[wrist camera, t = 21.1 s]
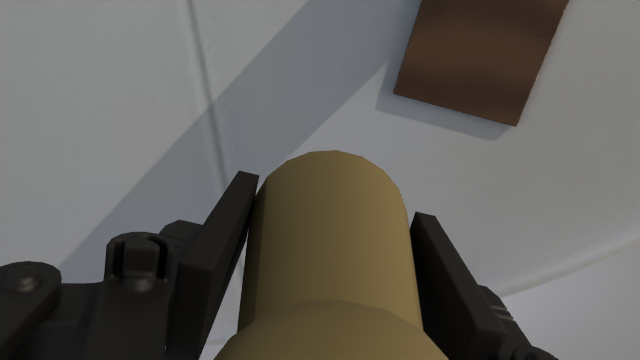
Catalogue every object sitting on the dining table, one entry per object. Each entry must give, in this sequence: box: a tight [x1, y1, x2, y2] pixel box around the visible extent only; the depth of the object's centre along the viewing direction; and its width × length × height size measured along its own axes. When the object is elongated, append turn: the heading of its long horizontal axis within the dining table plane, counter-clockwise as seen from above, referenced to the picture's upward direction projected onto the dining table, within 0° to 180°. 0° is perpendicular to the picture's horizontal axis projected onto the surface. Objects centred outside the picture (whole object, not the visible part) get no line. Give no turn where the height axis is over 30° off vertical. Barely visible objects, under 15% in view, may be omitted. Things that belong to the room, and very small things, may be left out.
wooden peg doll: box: [214, 150, 449, 360], centre depth 11 cm, size 6×6×11 cm
